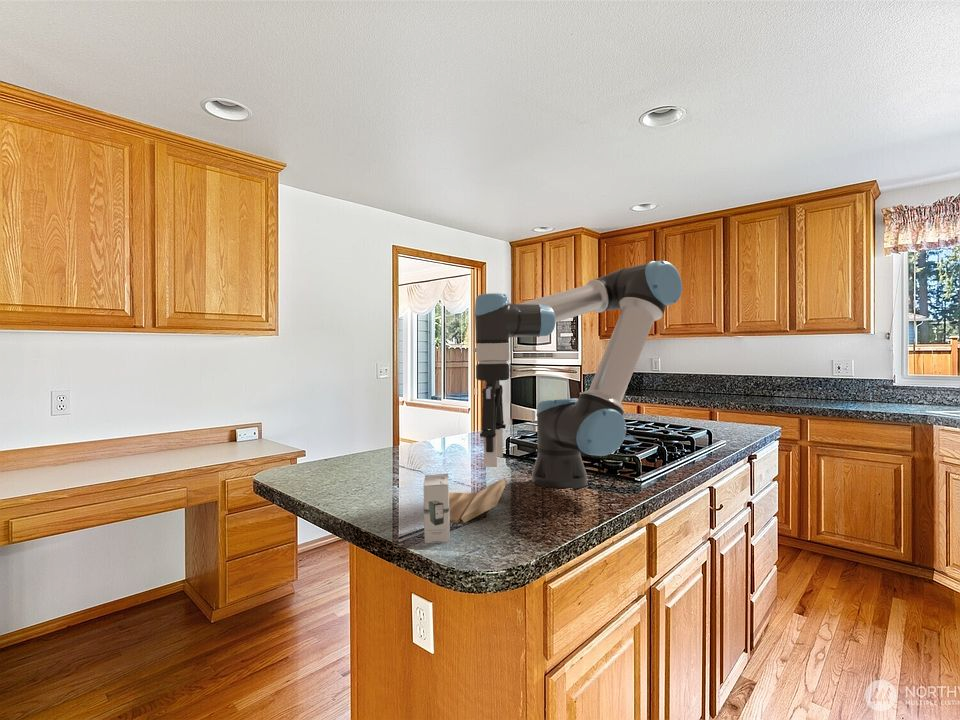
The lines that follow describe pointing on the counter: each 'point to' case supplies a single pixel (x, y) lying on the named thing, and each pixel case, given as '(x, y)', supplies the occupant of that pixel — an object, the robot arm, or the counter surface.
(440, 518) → the ink box
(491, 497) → the plank
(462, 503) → the floor strip
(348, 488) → the counter surface
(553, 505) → the counter surface
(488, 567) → the counter surface
